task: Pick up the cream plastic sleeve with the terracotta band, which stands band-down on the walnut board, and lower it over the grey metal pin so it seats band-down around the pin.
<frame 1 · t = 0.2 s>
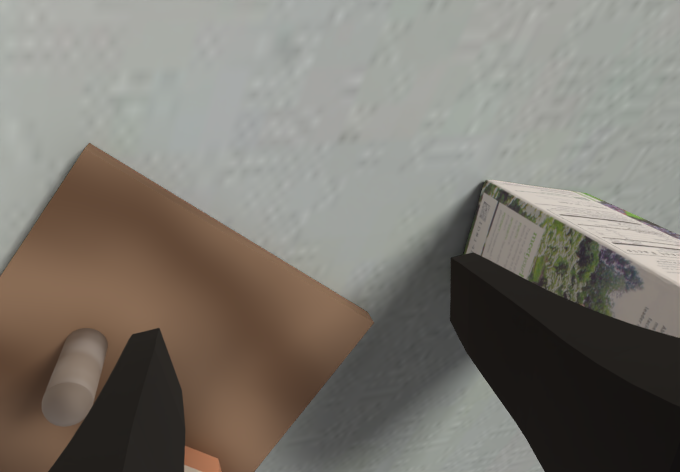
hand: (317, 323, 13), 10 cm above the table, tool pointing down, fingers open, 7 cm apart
syrup box: (512, 237, 27), on the table
pin board: (118, 411, 24), on the table
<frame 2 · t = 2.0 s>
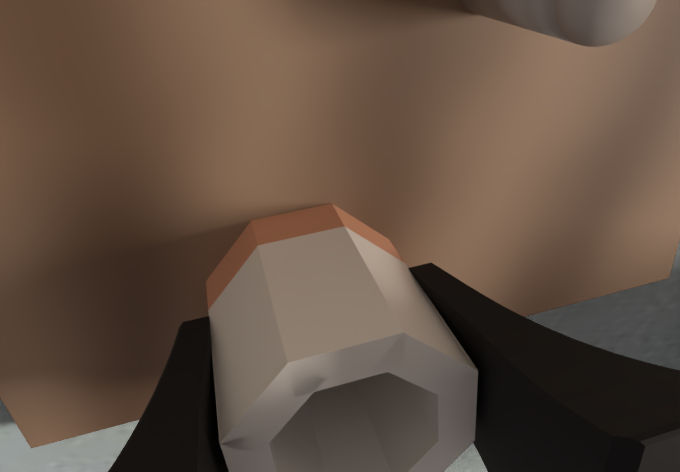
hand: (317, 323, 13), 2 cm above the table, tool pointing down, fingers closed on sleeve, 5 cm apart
sleeve: (305, 290, 14), point 1 cm above the table, touching gripper, pin board
pin board: (354, 120, 13), on the table
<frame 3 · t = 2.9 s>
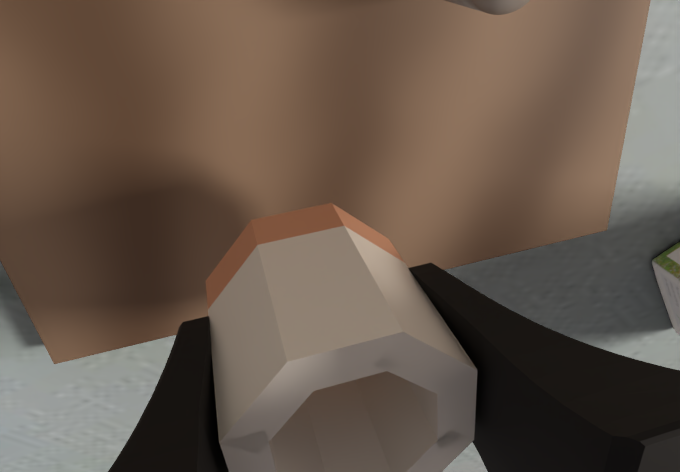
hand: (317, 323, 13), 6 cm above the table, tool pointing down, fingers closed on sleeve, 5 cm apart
sleeve: (304, 290, 14), point 4 cm above the table, touching gripper
pin board: (325, 85, 16), on the table
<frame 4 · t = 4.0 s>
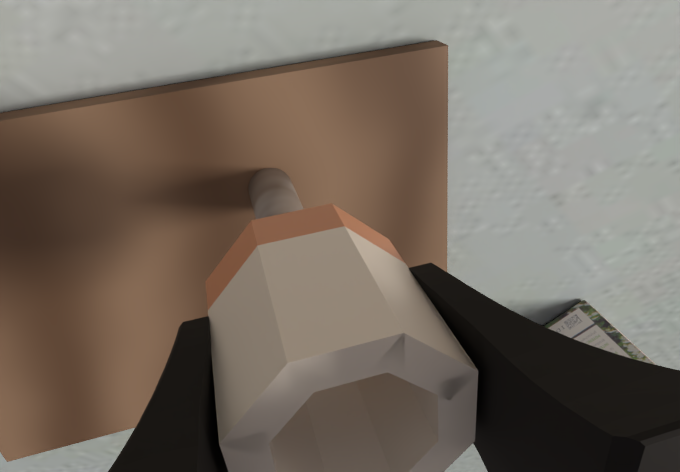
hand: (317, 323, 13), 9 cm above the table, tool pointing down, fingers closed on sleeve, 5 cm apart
sleeve: (305, 290, 14), point 8 cm above the table, touching gripper
syrup box: (552, 351, 30), on the table
pin board: (205, 259, 22), on the table
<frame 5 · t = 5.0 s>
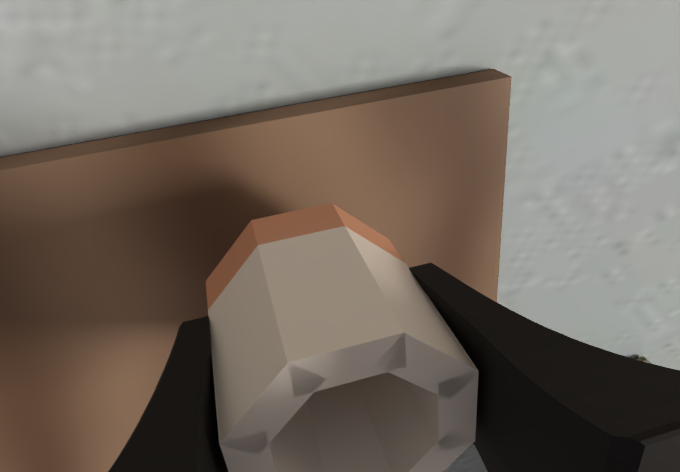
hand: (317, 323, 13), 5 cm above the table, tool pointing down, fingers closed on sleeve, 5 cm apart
sleeve: (305, 290, 14), point 3 cm above the table, touching gripper
pin board: (210, 329, 18), on the table
when the fingers open (3 cm above the table, at t = 5.8 s): sleeve drops 1 cm, resting on pin board.
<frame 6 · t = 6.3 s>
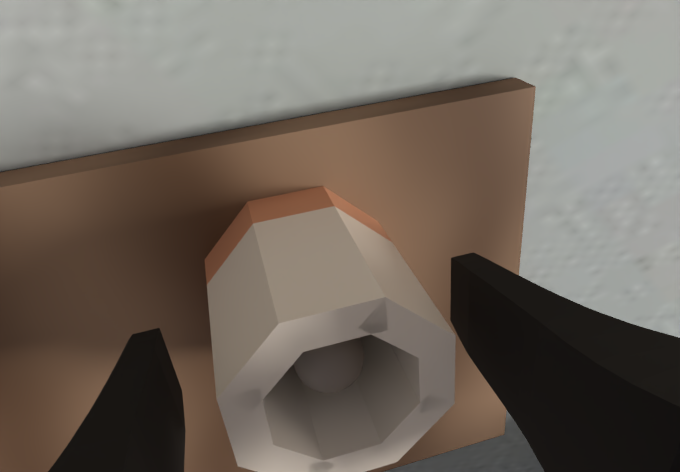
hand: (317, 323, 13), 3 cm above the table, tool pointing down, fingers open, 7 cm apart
sleeve: (298, 269, 15), point 1 cm above the table, touching pin board
pin board: (212, 352, 17), on the table
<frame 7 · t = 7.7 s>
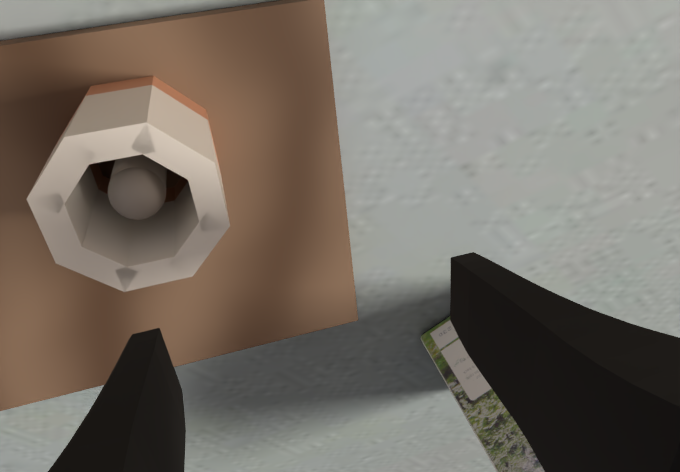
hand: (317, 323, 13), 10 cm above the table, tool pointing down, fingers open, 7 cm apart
sleeve: (143, 149, 19), point 1 cm above the table, touching pin board
syrup box: (479, 331, 30), on the table
pin board: (87, 227, 21), on the table
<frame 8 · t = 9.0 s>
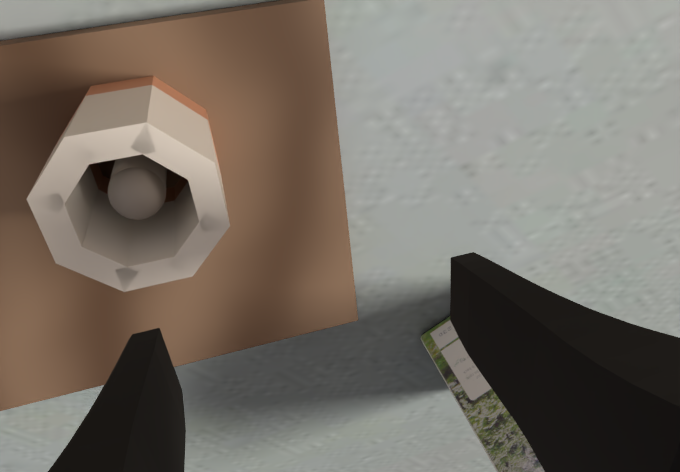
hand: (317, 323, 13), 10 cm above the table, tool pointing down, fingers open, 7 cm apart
sleeve: (143, 149, 19), point 1 cm above the table, touching pin board
syrup box: (479, 331, 30), on the table
pin board: (87, 227, 21), on the table
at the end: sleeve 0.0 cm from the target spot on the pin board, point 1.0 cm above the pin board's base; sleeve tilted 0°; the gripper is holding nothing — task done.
